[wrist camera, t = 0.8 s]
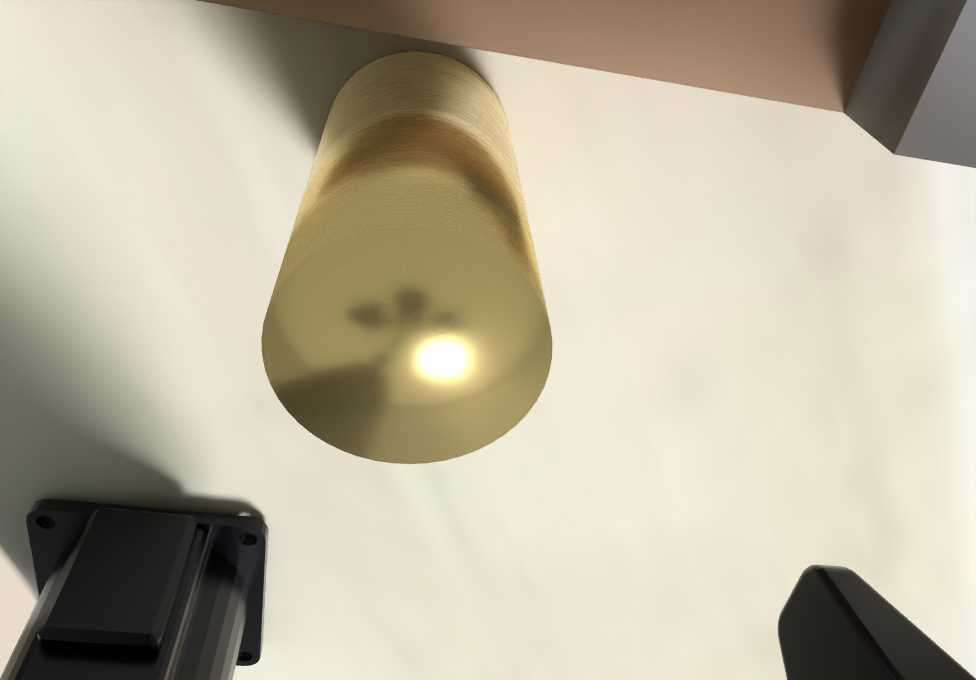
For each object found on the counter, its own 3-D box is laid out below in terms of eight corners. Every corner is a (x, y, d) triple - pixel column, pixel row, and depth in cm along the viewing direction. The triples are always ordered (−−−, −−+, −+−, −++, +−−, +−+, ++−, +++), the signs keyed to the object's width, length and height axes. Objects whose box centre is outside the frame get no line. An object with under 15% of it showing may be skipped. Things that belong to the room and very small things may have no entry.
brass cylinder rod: (491, 238, 20) (520, 475, 13) (319, 214, 19) (257, 449, 12) (526, 68, 17) (583, 250, 11) (333, 35, 17) (267, 205, 10)
